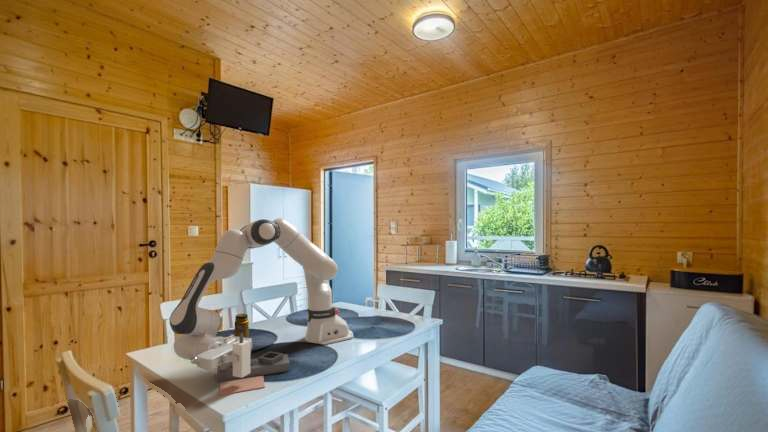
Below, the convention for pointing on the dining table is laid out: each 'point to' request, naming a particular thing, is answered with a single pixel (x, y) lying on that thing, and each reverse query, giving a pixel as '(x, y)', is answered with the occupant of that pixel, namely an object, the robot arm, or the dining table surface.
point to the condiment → (242, 325)
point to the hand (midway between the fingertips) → (243, 355)
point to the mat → (241, 385)
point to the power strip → (256, 366)
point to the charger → (241, 358)
